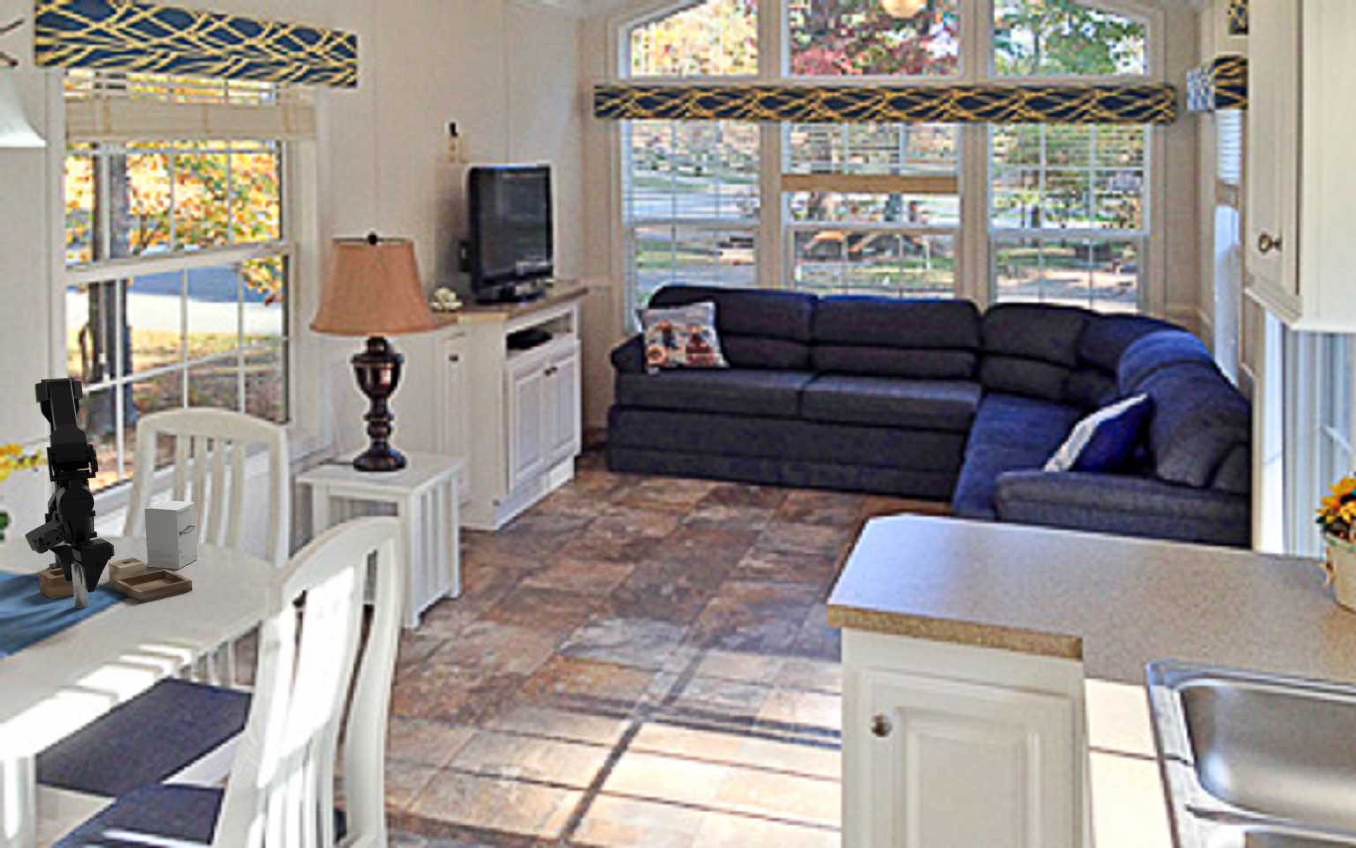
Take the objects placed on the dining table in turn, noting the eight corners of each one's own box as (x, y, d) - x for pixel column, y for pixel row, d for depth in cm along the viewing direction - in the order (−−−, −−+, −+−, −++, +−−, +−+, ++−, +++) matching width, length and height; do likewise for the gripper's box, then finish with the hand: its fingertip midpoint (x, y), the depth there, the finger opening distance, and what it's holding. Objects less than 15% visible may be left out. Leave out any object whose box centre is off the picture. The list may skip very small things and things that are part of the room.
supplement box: (179, 570, 275) (175, 510, 273) (146, 567, 277) (142, 508, 274) (199, 559, 282) (195, 501, 280) (167, 557, 284) (163, 499, 281)
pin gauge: (72, 606, 252) (69, 563, 251) (85, 603, 254) (82, 560, 252) (77, 609, 251) (74, 565, 249) (90, 606, 252) (87, 563, 251)
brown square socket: (40, 592, 260) (38, 572, 259) (71, 585, 265) (69, 565, 264) (53, 599, 256) (51, 579, 255) (84, 592, 261) (83, 572, 260)
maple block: (109, 582, 268) (108, 562, 267) (134, 576, 271) (132, 557, 270) (121, 587, 264) (119, 567, 263) (145, 581, 268) (144, 562, 267)
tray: (114, 590, 262) (113, 580, 262) (166, 578, 270) (166, 568, 269) (139, 602, 255) (138, 592, 255) (192, 590, 263) (191, 580, 262)
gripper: (8, 504, 249) (15, 584, 252) (50, 523, 237) (57, 608, 240) (69, 494, 257) (75, 572, 260) (112, 512, 245) (118, 594, 248)
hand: (80, 586), depth 252 cm, fingers open, 9 cm apart
